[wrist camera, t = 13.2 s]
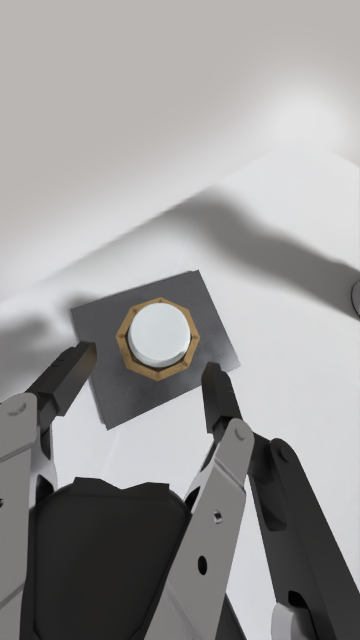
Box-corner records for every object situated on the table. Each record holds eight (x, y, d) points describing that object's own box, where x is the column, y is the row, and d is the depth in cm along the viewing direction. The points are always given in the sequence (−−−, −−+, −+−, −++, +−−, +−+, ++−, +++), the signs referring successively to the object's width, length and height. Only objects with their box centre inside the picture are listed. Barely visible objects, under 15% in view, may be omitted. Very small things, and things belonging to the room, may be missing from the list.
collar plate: (196, 273, 23) (204, 257, 19) (237, 365, 21) (255, 368, 17) (75, 311, 19) (53, 301, 15) (110, 426, 17) (95, 448, 14)
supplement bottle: (173, 366, 19) (186, 383, 9) (132, 354, 18) (104, 359, 9) (184, 326, 20) (207, 307, 11) (147, 314, 20) (135, 283, 10)
